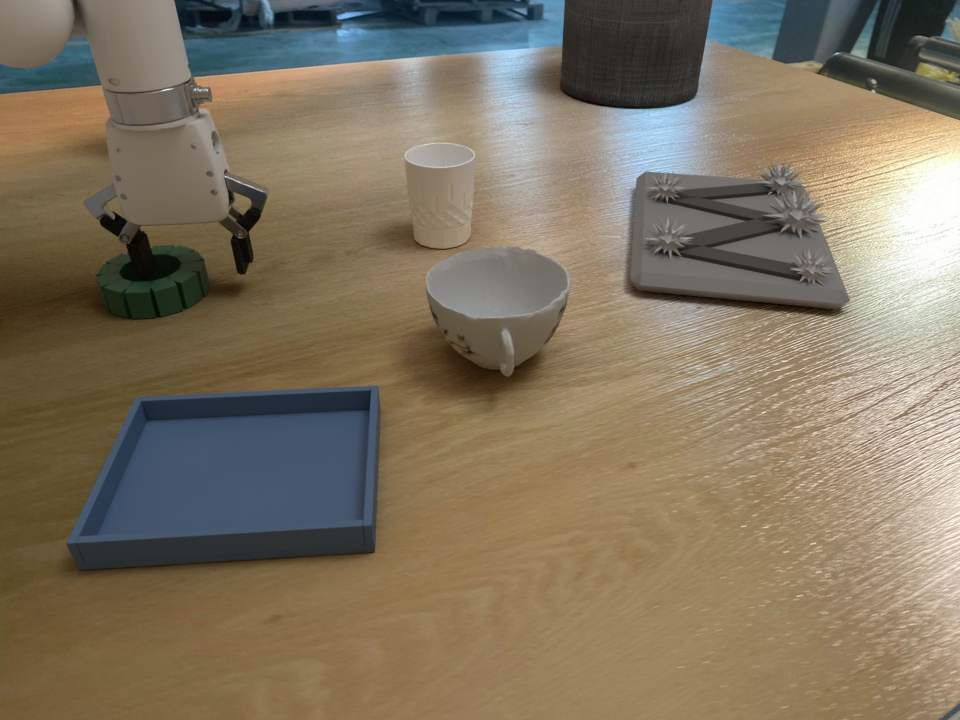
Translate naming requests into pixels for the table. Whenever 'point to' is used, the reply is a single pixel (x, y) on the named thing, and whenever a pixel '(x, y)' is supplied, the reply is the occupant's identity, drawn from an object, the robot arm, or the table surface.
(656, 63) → the planter
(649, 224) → the decorative plate
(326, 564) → the table surface
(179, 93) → the robot arm
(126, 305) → the ring
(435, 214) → the white cup
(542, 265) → the teacup
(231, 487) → the tray
